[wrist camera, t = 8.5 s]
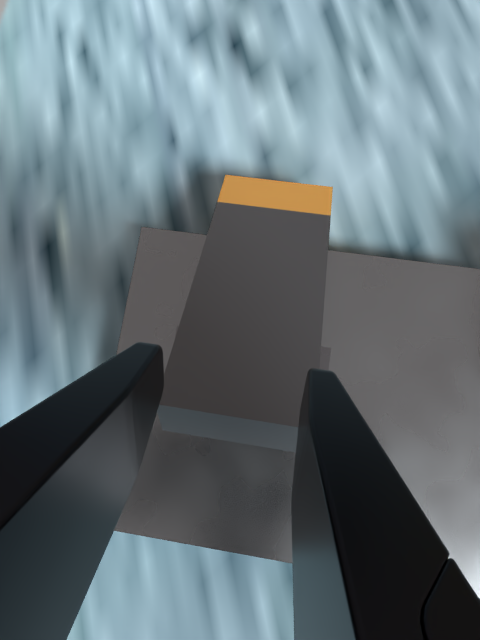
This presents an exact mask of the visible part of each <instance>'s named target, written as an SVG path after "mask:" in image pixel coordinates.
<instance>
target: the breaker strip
mask: <svg viewBox="0 0 480 640" xmlns="http://www.w3.org/2000/svg"><path fill="white" fill-rule="evenodd" d="M206 237H207V235H203V234H195V233H187V232H179V231H171V230H163V229H155V228H147V227H142V228H141V233H140V238H139V243H138V248H137V253H136V258H135V263H134V268H133V273H132V278H131V283H130V288H129V293H128V298H127V303H126V308H125V313H124V318H123V323H122V328H121V333H120V339H119V344H118V349H117V354H119V353H120V352H122V351H124V350H125V349H127V348H129V347H130V346H132V345H133V344H135V343H137V342H144V343H151V344H158V345H160V346H161V347H162V350H163V364H164V373H165V370H166V366H167V363H168V360H169V357H170V353H171V350H172V347H173V344H174V340H175V337H176V334H177V331H178V327H179V324H180V321H181V318H182V314H183V311H184V308H185V305H186V302H187V298H188V295H189V292H190V289H191V285H192V282H193V279H194V276H195V272H196V269H197V266H198V263H199V259H200V256H201V253H202V250H203V246H204V243H205V240H206ZM117 354H116V355H117ZM319 369H323V370H329V371H333V372H334V373H335V374H336V375H337V377H338V379H339V380H340V382H341V383H342V385H343V386H344V388H345V390H346V391H347V393H348V394H349V396H350V397H351V399H352V401H353V402H354V404H355V405H356V407H357V408H358V410H359V412H360V413H361V415H362V416H363V418H364V419H365V421H366V423H367V424H368V426H369V427H370V429H371V430H372V432H373V434H374V435H375V437H376V438H377V440H378V441H379V443H380V445H381V446H382V448H383V449H384V451H385V452H386V454H387V455H388V457H389V459H390V460H391V462H392V463H393V465H394V466H395V468H396V470H397V471H398V473H399V474H400V476H401V477H402V479H403V481H404V482H405V484H406V485H407V487H408V488H409V490H410V492H411V493H412V495H413V496H414V498H415V499H416V501H417V503H418V504H419V506H420V507H421V509H422V510H423V512H424V514H425V515H426V517H427V518H428V520H429V521H430V523H431V525H432V526H433V528H434V529H435V531H436V532H437V534H438V536H439V537H440V539H441V540H442V542H443V543H444V545H445V546H446V548H447V550H448V551H449V554H450V555H449V558H452V559H454V560H455V562H456V563H457V565H458V567H459V568H460V570H461V571H462V573H463V574H464V576H465V578H466V579H467V581H468V582H469V584H470V585H471V587H472V588H473V590H474V591H475V593H476V594H477V596H478V597H479V598H480V269H475V268H467V267H459V266H451V265H443V264H435V263H427V262H419V261H411V260H403V259H395V258H387V257H379V256H371V255H363V254H355V253H347V252H339V251H331V250H328V258H327V271H326V285H325V299H324V313H323V326H322V340H321V354H320V368H319ZM295 455H296V452H290V451H284V450H278V449H272V448H266V447H260V446H254V445H248V444H242V443H236V442H230V441H224V440H218V439H212V438H206V437H200V436H194V435H188V434H182V433H176V432H170V431H164V430H162V427H161V423H160V420H159V416H158V413H157V414H156V417H155V420H154V424H153V427H152V430H151V434H150V437H149V440H148V444H147V447H146V450H145V454H144V457H143V460H142V463H141V466H140V469H139V473H138V475H137V478H136V480H135V483H134V485H133V488H132V490H131V492H130V495H129V497H128V499H127V501H126V504H125V506H124V508H123V511H122V513H121V515H120V518H119V520H118V522H117V524H116V527H115V529H114V531H119V532H125V533H130V534H135V535H141V536H146V537H152V538H157V539H163V540H168V541H173V542H179V543H184V544H190V545H195V546H201V547H206V548H211V549H217V550H222V551H228V552H233V553H239V554H244V555H249V556H255V557H260V558H266V559H271V560H277V561H282V562H287V563H292V522H291V499H292V485H293V475H294V465H295ZM449 558H448V559H449ZM448 559H447V560H448Z"/></svg>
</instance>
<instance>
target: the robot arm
mask: <svg viewBox="0 0 480 640" xmlns="http://www.w3.org/2000/svg"><path fill="white" fill-rule="evenodd" d="M163 388H164V364H163V350H162V347H161V346H160V345H158V344H151V343H144V342H137V343H135V344H133V345H132V346H130V347H129V348H127V349H125V350H124V351H122V352H120V353H119V354H117V355H116V356H114V357H112V358H111V359H109V360H108V361H106V362H104V363H103V364H101V365H100V366H98V367H96V368H95V369H93V370H92V371H90V372H88V373H87V374H85V375H84V376H82V377H80V378H79V379H77V380H76V381H74V382H72V383H71V384H69V385H68V386H66V387H64V388H63V389H61V390H60V391H58V392H56V393H55V394H53V395H52V396H50V397H48V398H47V399H45V400H44V401H42V402H40V403H39V404H37V405H35V406H34V407H32V408H31V409H29V410H27V411H26V412H24V413H23V414H21V415H19V416H18V417H16V418H15V419H13V420H11V421H10V422H8V423H7V424H5V425H3V426H2V427H0V640H67V637H68V635H69V633H70V630H71V628H72V626H73V623H74V621H75V619H76V617H77V614H78V612H79V610H80V607H81V605H82V603H83V600H84V598H85V596H86V594H87V591H88V589H89V587H90V584H91V582H92V580H93V577H94V575H95V573H96V570H97V568H98V566H99V564H100V561H101V559H102V557H103V554H104V552H105V550H106V547H107V545H108V543H109V541H110V538H111V536H112V534H113V531H114V529H115V527H116V524H117V522H118V520H119V518H120V515H121V513H122V511H123V508H124V506H125V504H126V501H127V499H128V497H129V495H130V492H131V490H132V488H133V485H134V483H135V480H136V478H137V475H138V473H139V469H140V466H141V463H142V460H143V457H144V454H145V450H146V447H147V444H148V440H149V437H150V434H151V430H152V427H153V424H154V420H155V417H156V414H157V410H158V407H159V404H160V400H161V397H162V393H163ZM291 522H292V564H293V605H294V640H480V599H479V597H478V596H477V594H476V593H475V591H474V590H473V588H472V587H471V585H470V584H469V582H468V581H467V579H466V578H465V576H464V574H463V573H462V571H461V570H460V568H459V567H458V565H457V563H456V562H455V560H454V559H452V558H449V555H450V554H449V551H448V550H447V548H446V546H445V545H444V543H443V542H442V540H441V539H440V537H439V536H438V534H437V532H436V531H435V529H434V528H433V526H432V525H431V523H430V521H429V520H428V518H427V517H426V515H425V514H424V512H423V510H422V509H421V507H420V506H419V504H418V503H417V501H416V499H415V498H414V496H413V495H412V493H411V492H410V490H409V488H408V487H407V485H406V484H405V482H404V481H403V479H402V477H401V476H400V474H399V473H398V471H397V470H396V468H395V466H394V465H393V463H392V462H391V460H390V459H389V457H388V455H387V454H386V452H385V451H384V449H383V448H382V446H381V445H380V443H379V441H378V440H377V438H376V437H375V435H374V434H373V432H372V430H371V429H370V427H369V426H368V424H367V423H366V421H365V419H364V418H363V416H362V415H361V413H360V412H359V410H358V408H357V407H356V405H355V404H354V402H353V401H352V399H351V397H350V396H349V394H348V393H347V391H346V390H345V388H344V386H343V385H342V383H341V382H340V380H339V379H338V377H337V375H336V374H335V373H334V372H333V371H329V370H323V369H316V368H311V369H309V370H308V373H307V377H306V382H305V387H304V392H303V397H302V402H301V408H300V415H299V425H298V435H297V445H296V455H295V465H294V475H293V485H292V499H291ZM448 558H449V559H448ZM447 559H448V560H447Z"/></svg>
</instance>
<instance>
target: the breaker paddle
mask: <svg viewBox="0 0 480 640" xmlns="http://www.w3.org/2000/svg"><path fill="white" fill-rule="evenodd" d="M332 189H333V187H327V186H318V185H310V184H301V183H292V182H284V181H275V180H266V179H258V178H249V177H241V176H232V175H225V178H224V182H223V185H222V188H221V191H220V195H219V198H218V201H217V204H216V208H215V211H214V214H213V217H212V220H211V224H210V227H209V230H208V233H207V237H206V240H205V243H204V246H203V250H202V253H201V256H200V259H199V263H198V266H197V269H196V272H195V276H194V279H193V282H192V285H191V289H190V292H189V295H188V298H187V302H186V305H185V308H184V311H183V314H182V318H181V321H180V324H179V327H178V331H177V334H176V337H175V340H174V344H173V347H172V350H171V353H170V357H169V360H168V363H167V366H166V370H165V373H164V388H163V393H162V397H161V400H160V404H159V407H158V410H157V413H158V416H159V420H160V423H161V427H162V430H164V431H170V432H176V433H182V434H188V435H194V436H200V437H206V438H212V439H218V440H224V441H230V442H236V443H242V444H248V445H254V446H260V447H266V448H272V449H278V450H284V451H290V452H296V445H297V435H298V425H299V415H300V408H301V402H302V397H303V392H304V387H305V382H306V377H307V373H308V370H309V369H311V368H316V369H319V368H320V354H321V340H322V326H323V313H324V299H325V285H326V271H327V258H328V244H329V230H330V216H331V203H332Z"/></svg>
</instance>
